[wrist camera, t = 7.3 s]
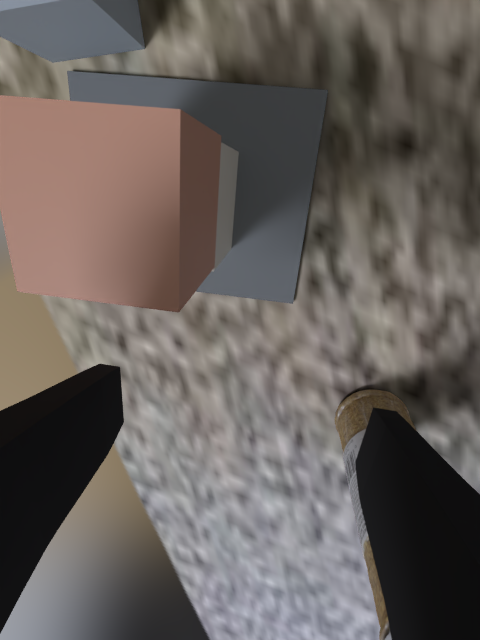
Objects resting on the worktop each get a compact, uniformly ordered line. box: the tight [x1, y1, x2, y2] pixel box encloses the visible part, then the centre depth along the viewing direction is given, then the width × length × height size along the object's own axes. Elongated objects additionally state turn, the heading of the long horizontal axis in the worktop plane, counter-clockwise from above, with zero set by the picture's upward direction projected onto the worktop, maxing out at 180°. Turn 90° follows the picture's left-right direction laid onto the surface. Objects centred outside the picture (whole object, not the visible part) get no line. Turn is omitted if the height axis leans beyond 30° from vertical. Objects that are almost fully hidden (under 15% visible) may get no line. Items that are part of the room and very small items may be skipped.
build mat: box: [67, 71, 328, 304], centre depth 17 cm, size 12×10×1 cm
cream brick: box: [212, 142, 239, 272], centre depth 15 cm, size 5×5×5 cm
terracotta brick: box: [0, 95, 221, 312], centre depth 10 cm, size 5×5×5 cm
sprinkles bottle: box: [335, 389, 416, 640], centre depth 15 cm, size 5×5×13 cm
